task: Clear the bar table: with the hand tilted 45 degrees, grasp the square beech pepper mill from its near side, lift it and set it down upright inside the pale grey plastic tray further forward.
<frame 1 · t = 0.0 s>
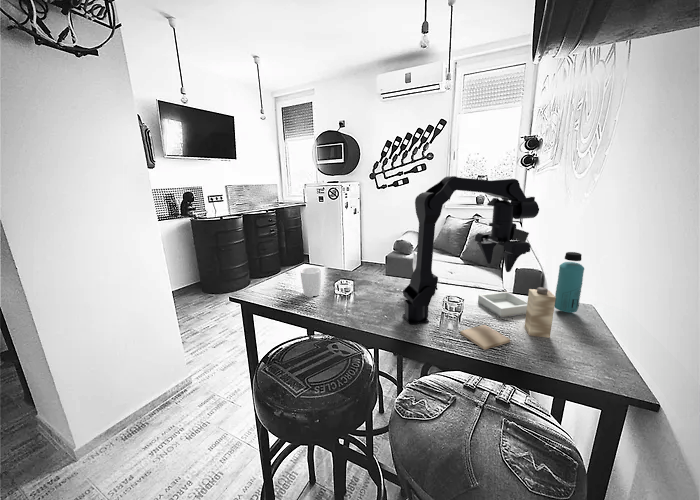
hand: (498, 267, 94), 15 cm above the table, tool pointing down, fingers open, 9 cm apart
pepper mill: (536, 332, 83), on the table
beverage bottle: (564, 313, 94), on the table
white cup: (312, 294, 116), on the table
cork coaster: (484, 337, 81), on the table
beer glass: (421, 290, 116), on the table
tray: (503, 307, 98), on the table
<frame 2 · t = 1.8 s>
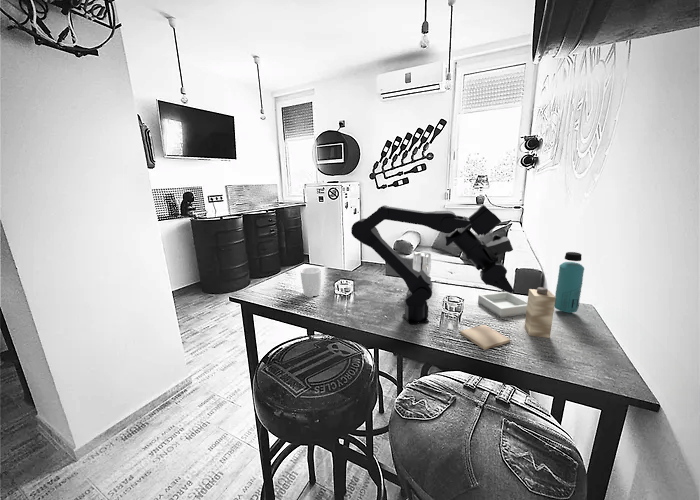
hand: (509, 286, 82), 13 cm above the table, tool tilted 45°, fingers open, 9 cm apart
nothing on the table moved.
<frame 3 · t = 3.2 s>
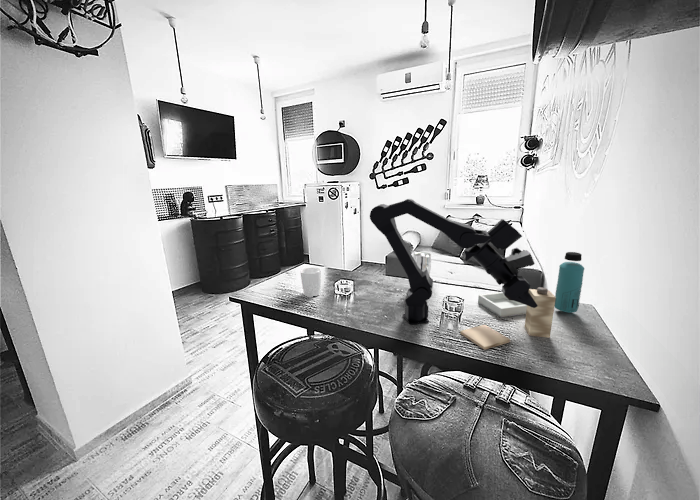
hand: (531, 299, 81), 10 cm above the table, tool tilted 45°, fingers open, 9 cm apart
nothing on the table moved.
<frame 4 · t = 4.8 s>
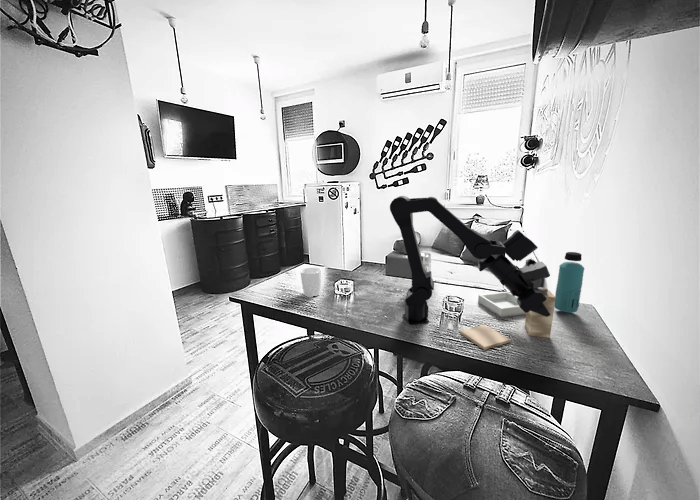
hand: (545, 311, 81), 7 cm above the table, tool tilted 45°, fingers closed on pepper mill, 5 cm apart
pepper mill: (536, 332, 83), on the table, touching gripper
everything else where it was.
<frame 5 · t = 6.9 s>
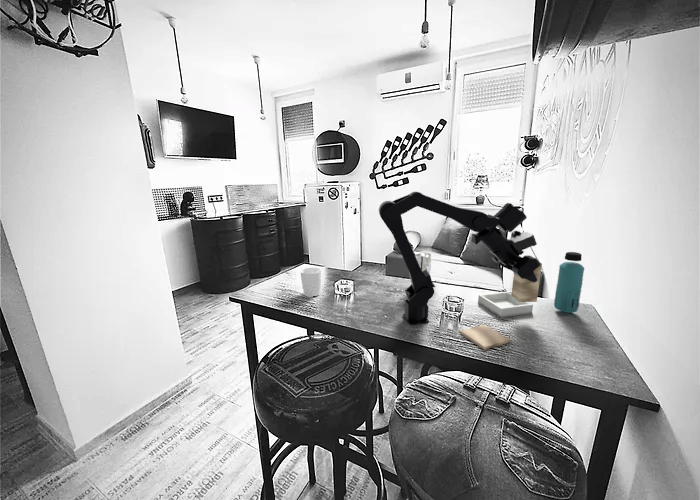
hand: (530, 278, 87), 13 cm above the table, tool tilted 45°, fingers closed on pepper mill, 5 cm apart
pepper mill: (523, 298, 89), point 7 cm above the table, touching gripper
everything else where it was.
when the fingers open (9 cm above the table, at t = 8.9 s): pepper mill drops 2 cm, resting on tray.
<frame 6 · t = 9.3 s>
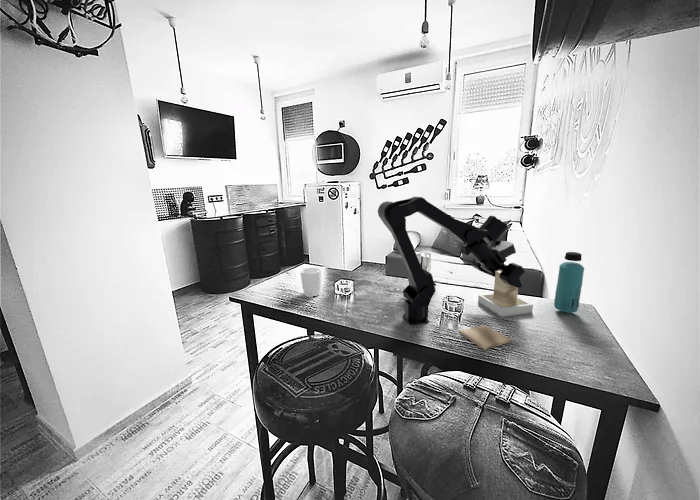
hand: (510, 282, 96), 9 cm above the table, tool tilted 45°, fingers open, 9 cm apart
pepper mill: (504, 306, 98), point 1 cm above the table, touching tray
everything else where it was.
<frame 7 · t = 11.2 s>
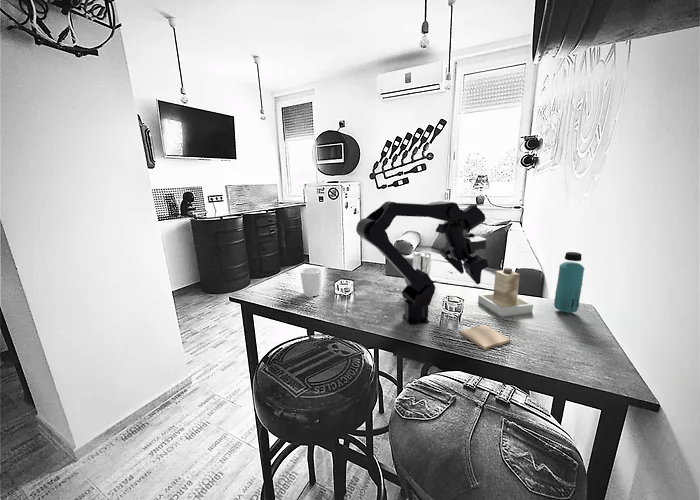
hand: (470, 278, 96), 11 cm above the table, tool tilted 25°, fingers open, 9 cm apart
nothing on the table moved.
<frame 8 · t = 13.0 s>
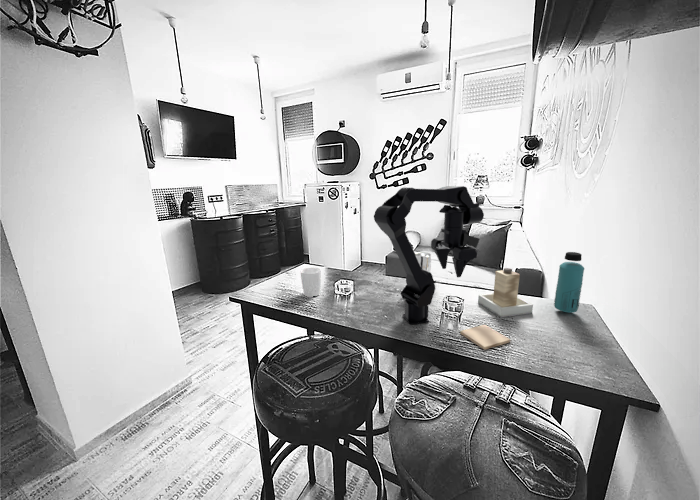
hand: (451, 272, 96), 13 cm above the table, tool pointing down, fingers open, 9 cm apart
nothing on the table moved.
at the end: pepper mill inside the target area on the tray (0.0 cm from its centre), point 0.6 cm above the tray's base; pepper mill tilted 0°; the gripper is holding nothing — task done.
